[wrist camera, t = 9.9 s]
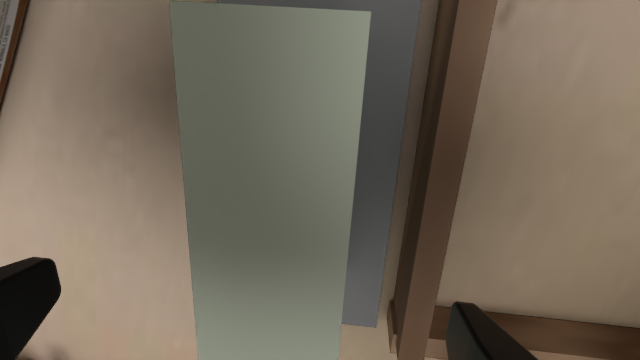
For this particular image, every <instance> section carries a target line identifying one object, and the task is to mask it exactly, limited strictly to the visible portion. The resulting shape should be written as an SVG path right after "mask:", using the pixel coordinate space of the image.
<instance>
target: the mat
mask: <svg viewBox="0 0 640 360" xmlns="http://www.w3.org/2000/svg"><path fill="white" fill-rule="evenodd" d="M217 3H222V4H241V5H259V6H278V7H296V8H315V9H333V10H352V11H370V12H371V19H370V29H369V40H368V50H367V61H366V71H365V82H364V92H363V103H362V113H361V124H360V134H359V145H358V155H357V165H356V176H355V186H354V197H353V207H352V218H351V228H350V239H349V249H348V260H347V270H346V281H345V291H344V302H343V312H342V323H341V324H348V325H357V326H365V327H374V328H376V325H377V318H378V311H379V303H380V296H381V289H382V282H383V274H384V267H385V260H386V253H387V245H388V238H389V231H390V224H391V216H392V209H393V202H394V195H395V187H396V180H397V173H398V166H399V158H400V151H401V144H402V137H403V129H404V122H405V115H406V108H407V100H408V93H409V86H410V79H411V71H412V64H413V57H414V50H415V42H416V35H417V28H418V21H419V13H420V6H421V0H217Z"/></svg>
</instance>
